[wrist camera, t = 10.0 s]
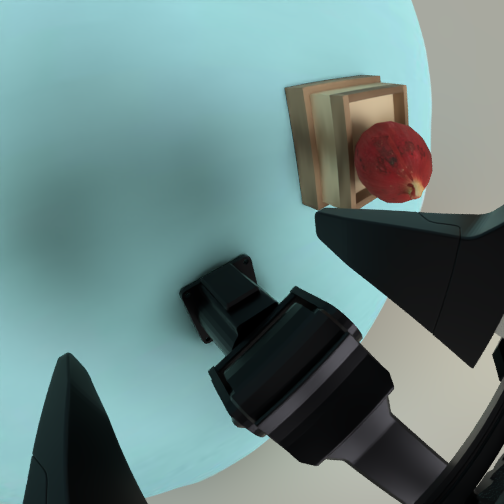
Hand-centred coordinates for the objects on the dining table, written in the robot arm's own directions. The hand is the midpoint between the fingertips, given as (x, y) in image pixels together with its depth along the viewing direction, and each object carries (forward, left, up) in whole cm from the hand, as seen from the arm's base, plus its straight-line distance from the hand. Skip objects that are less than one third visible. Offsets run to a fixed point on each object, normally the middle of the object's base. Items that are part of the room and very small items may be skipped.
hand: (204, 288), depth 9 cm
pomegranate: (-2, -19, -7) cm, 20 cm away
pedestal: (-2, -19, -12) cm, 23 cm away
